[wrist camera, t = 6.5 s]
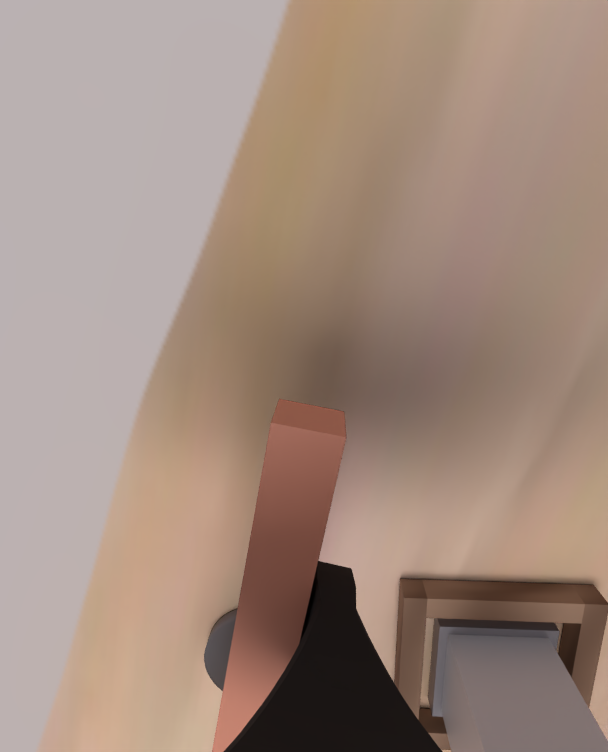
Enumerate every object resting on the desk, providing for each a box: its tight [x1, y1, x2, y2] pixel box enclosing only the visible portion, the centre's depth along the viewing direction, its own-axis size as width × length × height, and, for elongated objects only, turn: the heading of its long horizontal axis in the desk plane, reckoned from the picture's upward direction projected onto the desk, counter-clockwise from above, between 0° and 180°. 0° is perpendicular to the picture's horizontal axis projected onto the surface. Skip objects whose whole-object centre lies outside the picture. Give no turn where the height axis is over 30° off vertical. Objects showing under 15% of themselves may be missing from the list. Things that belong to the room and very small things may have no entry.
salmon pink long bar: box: [212, 399, 346, 752], centre depth 12 cm, size 17×3×2 cm, turn 169°
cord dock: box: [204, 579, 608, 750], centre depth 18 cm, size 18×9×7 cm, turn 90°
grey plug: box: [428, 618, 608, 752], centre depth 18 cm, size 5×5×7 cm
